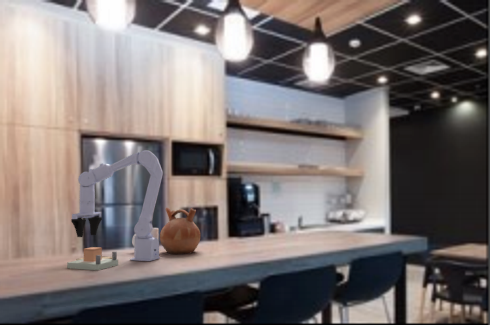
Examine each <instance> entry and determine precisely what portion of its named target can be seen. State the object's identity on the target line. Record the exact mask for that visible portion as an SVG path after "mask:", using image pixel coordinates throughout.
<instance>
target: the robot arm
mask: <svg viewBox="0 0 490 325" xmlns="http://www.w3.org/2000/svg"><path fill="white" fill-rule="evenodd" d="M132 165H135V166H136V165H137V166H142V167H144V168H145V169H146V170H147V172H148V173H149V175H150V176H149V181H148V185H147V188H146V192H145V196H144V200H143V204H142V208H141V213H140V215H139V217H138V221H137V223H136V224H135V225H134V227H133V232H134V234H136V236H134V235H133V236H134V237H135V238H134V246H133V247H134V249H133V250H134V252H133V253H134V256H133V257H132V258H129V261H140V262H141V261H142V262H152V261H155V260H158V259H160V258H161V257H160V242H159V241H160V240H159V238H158V239H157V238H153V235H152V234H151V231H152V229H153V228H154V227H153V219H154V218H153V217H154V211H155V208H156V207H155V206H156V203H157V199H158V197H159V196H158V195H159V191H160V187H161V182H162V178H163V174H164V172H163V169H162V167H161V164H160V161H159V158H158V157H157V156H156V154H154V153H153V152H152V151H151V150H147V149H144V150H141V151H139V152H135V153H132V154H130V155H128V156H126V157H124V158H122V159H119V160H118V161H115V162H114V163H111V164H109V163H100V164H99V166H98V167H95V168H90V169H88V171H83V172H81V173H80V174H79V176H78V178H77V179H78V183H79V212H77V213H72V214H71V220H70V221H71V223H72V224H73V227H74V230H75V232H76V233H75V234H76V237H77V238H83V236H84V228H85V224H86V219H87V220H88V223H89V232H90V235H91V236H96V235H97V233H98V228H99V226H100V224H101V221H102V220H103V217H102V211H95V209H96V208H95V205H96V203H95V202H96V198H95V197H96V196H95V195H96V192H95V191H96V190H95V189H96V188H95V186H96V184H97V183H100V182H102V181H104V180H107V179H110V178H111V177H113V175H114V173H115V172H117V171H120V170H123V169H125V168H127V167H129V166H132Z"/></svg>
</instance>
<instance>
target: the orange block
mask: <svg viewBox="0 0 490 325" xmlns="http://www.w3.org/2000/svg"><path fill="white" fill-rule="evenodd" d="M102 252H103V247H96V246H95V247H93V246H91V247H87V248H83V258H84V261H89V262H95V261H96V255H101V260H102V256H103V254H102Z"/></svg>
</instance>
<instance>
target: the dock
mask: <svg viewBox="0 0 490 325" xmlns="http://www.w3.org/2000/svg"><path fill="white" fill-rule="evenodd" d="M111 252H112V253H111V255H112V256H111V257H112V259H102V260H101V255H96V261H95V262H89V261H84V259H81V260H73V261H69V262H67V263H66V264H67V265H66V268H67V269H72V270H73V269H76V270H87V271H102V270H105V269H109V268H112V266H113V267H116V266H119V259H117V256H118V252H117V251H111Z"/></svg>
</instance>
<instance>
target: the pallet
mask: <svg viewBox="0 0 490 325" xmlns="http://www.w3.org/2000/svg"><path fill="white" fill-rule="evenodd" d="M81 259H84V257H80V258H76V259H75V261H77V260H81ZM102 259H112V256H103V255H102Z"/></svg>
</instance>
